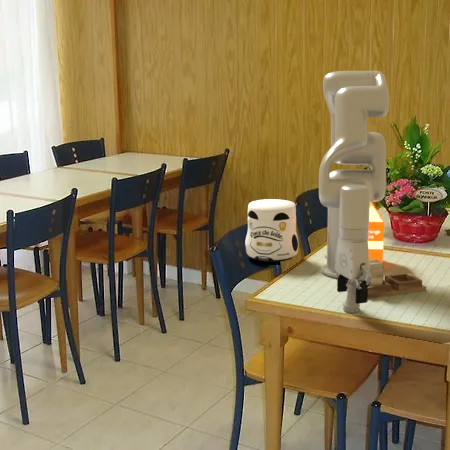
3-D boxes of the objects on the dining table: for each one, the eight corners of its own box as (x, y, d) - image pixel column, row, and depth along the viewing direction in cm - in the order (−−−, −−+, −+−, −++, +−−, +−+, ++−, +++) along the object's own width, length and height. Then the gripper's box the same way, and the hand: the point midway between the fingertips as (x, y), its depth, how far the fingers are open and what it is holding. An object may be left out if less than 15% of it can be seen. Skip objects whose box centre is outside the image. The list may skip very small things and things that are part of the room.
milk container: (254, 268, 226) (254, 212, 221) (238, 253, 242) (238, 200, 237) (306, 263, 230) (307, 207, 225) (287, 248, 246) (287, 196, 242)
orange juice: (379, 259, 232) (382, 198, 227) (382, 267, 224) (385, 204, 219) (355, 259, 233) (357, 198, 228) (357, 267, 225) (359, 204, 220)
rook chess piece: (358, 307, 192) (358, 278, 190) (361, 313, 187) (362, 284, 185) (341, 307, 192) (342, 278, 190) (344, 313, 187) (345, 284, 185)
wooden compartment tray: (349, 290, 204) (349, 259, 202) (409, 281, 211) (411, 252, 209) (363, 299, 197) (364, 267, 195) (426, 290, 204) (427, 259, 201)
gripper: (324, 227, 191) (323, 288, 195) (357, 242, 175) (355, 309, 179) (350, 224, 193) (348, 285, 197) (384, 239, 177) (382, 305, 181)
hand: (351, 296), depth 188 cm, fingers open, 9 cm apart
